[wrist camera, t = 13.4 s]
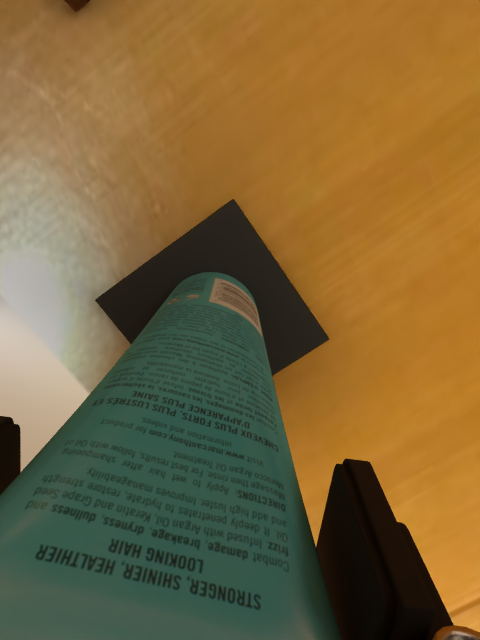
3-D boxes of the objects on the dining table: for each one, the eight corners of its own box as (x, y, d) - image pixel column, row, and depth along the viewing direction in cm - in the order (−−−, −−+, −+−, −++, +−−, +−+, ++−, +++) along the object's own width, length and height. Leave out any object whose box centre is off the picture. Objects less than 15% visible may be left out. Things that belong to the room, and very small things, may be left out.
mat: (197, 420, 27) (196, 424, 26) (97, 298, 25) (94, 300, 24) (328, 337, 25) (329, 339, 25) (233, 198, 23) (233, 199, 23)
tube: (139, 346, 25) (-156, 817, 7) (149, 259, 23) (-191, 548, 5) (273, 368, 25) (352, 877, 7) (291, 284, 24) (451, 640, 5)
